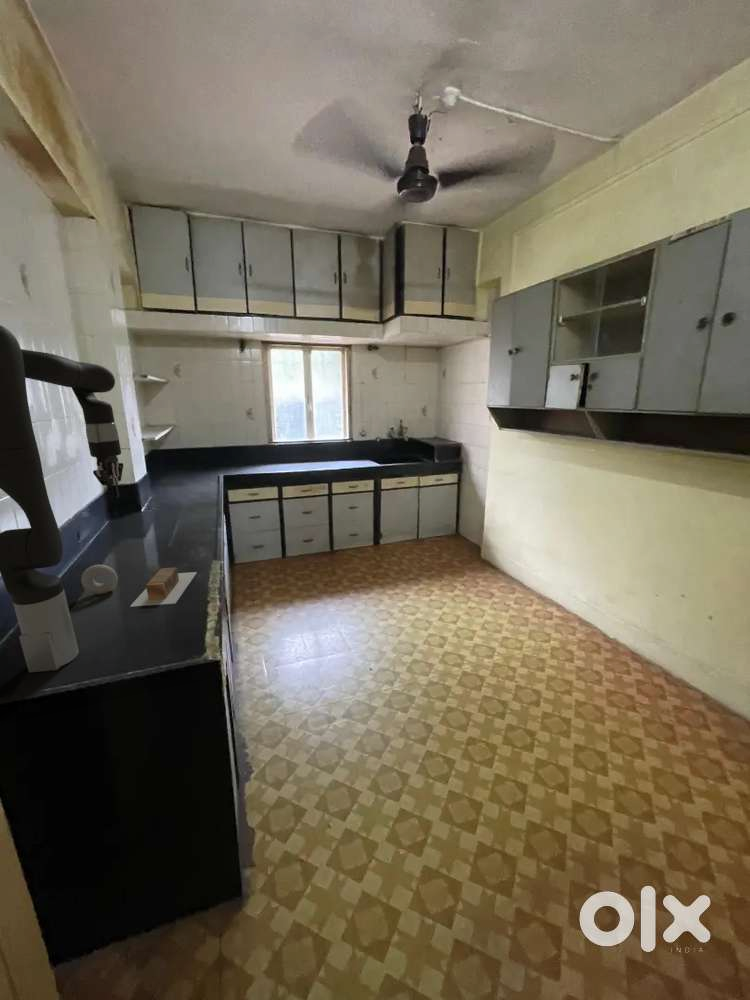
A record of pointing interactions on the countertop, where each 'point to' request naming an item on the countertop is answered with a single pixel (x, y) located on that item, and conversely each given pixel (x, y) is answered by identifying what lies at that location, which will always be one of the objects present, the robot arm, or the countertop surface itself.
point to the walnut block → (162, 583)
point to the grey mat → (172, 597)
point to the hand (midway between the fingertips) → (114, 497)
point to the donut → (95, 587)
